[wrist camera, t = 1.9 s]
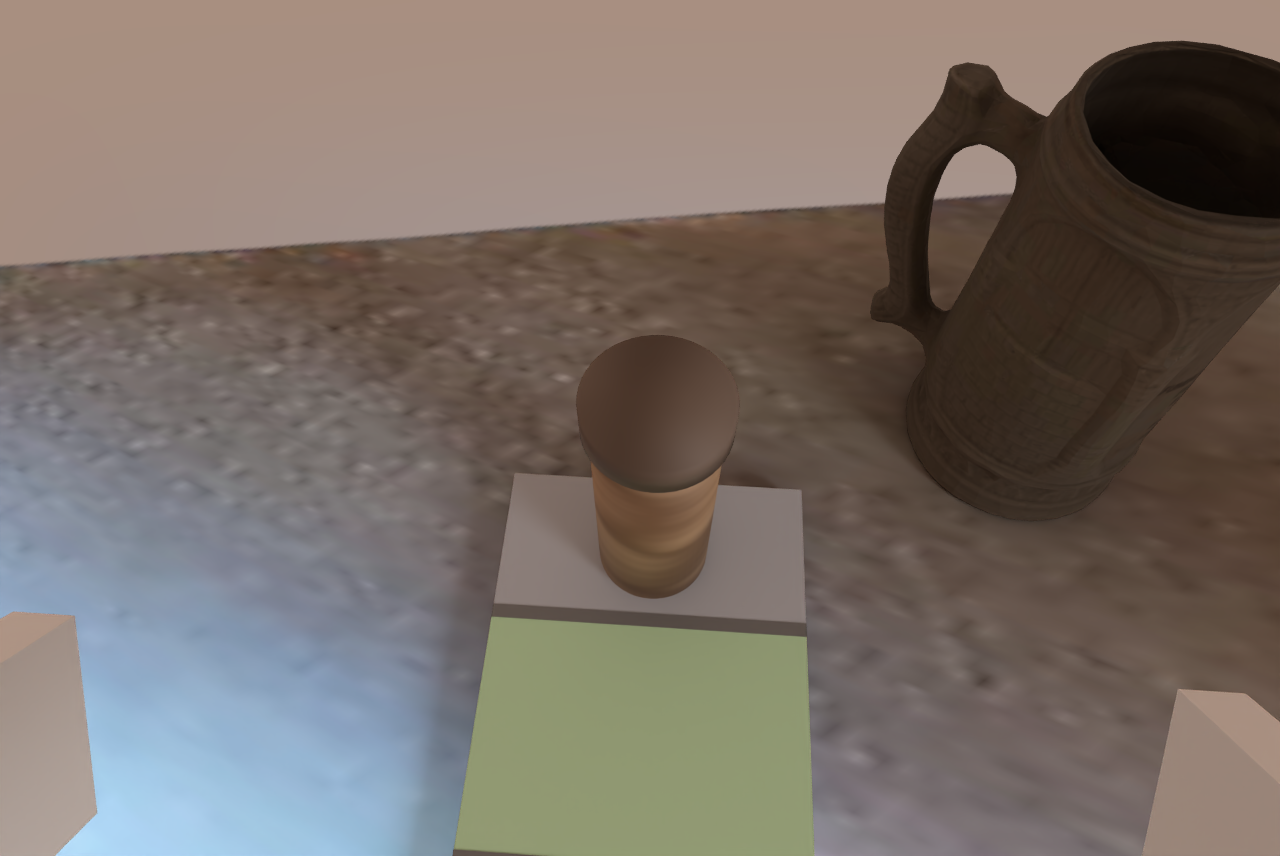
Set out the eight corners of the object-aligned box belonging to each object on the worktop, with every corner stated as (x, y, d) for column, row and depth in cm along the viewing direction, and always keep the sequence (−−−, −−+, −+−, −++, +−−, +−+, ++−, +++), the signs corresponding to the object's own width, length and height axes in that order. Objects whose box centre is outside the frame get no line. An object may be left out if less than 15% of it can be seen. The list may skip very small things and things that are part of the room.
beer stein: (1148, 400, 46) (1402, 62, 29) (1103, 565, 41) (1378, 271, 24) (872, 307, 51) (956, -29, 34) (802, 445, 46) (860, 130, 29)
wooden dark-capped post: (714, 497, 41) (740, 339, 31) (711, 609, 39) (739, 476, 28) (598, 490, 42) (584, 331, 31) (587, 600, 39) (567, 466, 28)
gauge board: (796, 502, 43) (801, 489, 42) (816, 1111, 30) (823, 1118, 29) (518, 486, 43) (514, 472, 42) (424, 1078, 31) (415, 1083, 30)
